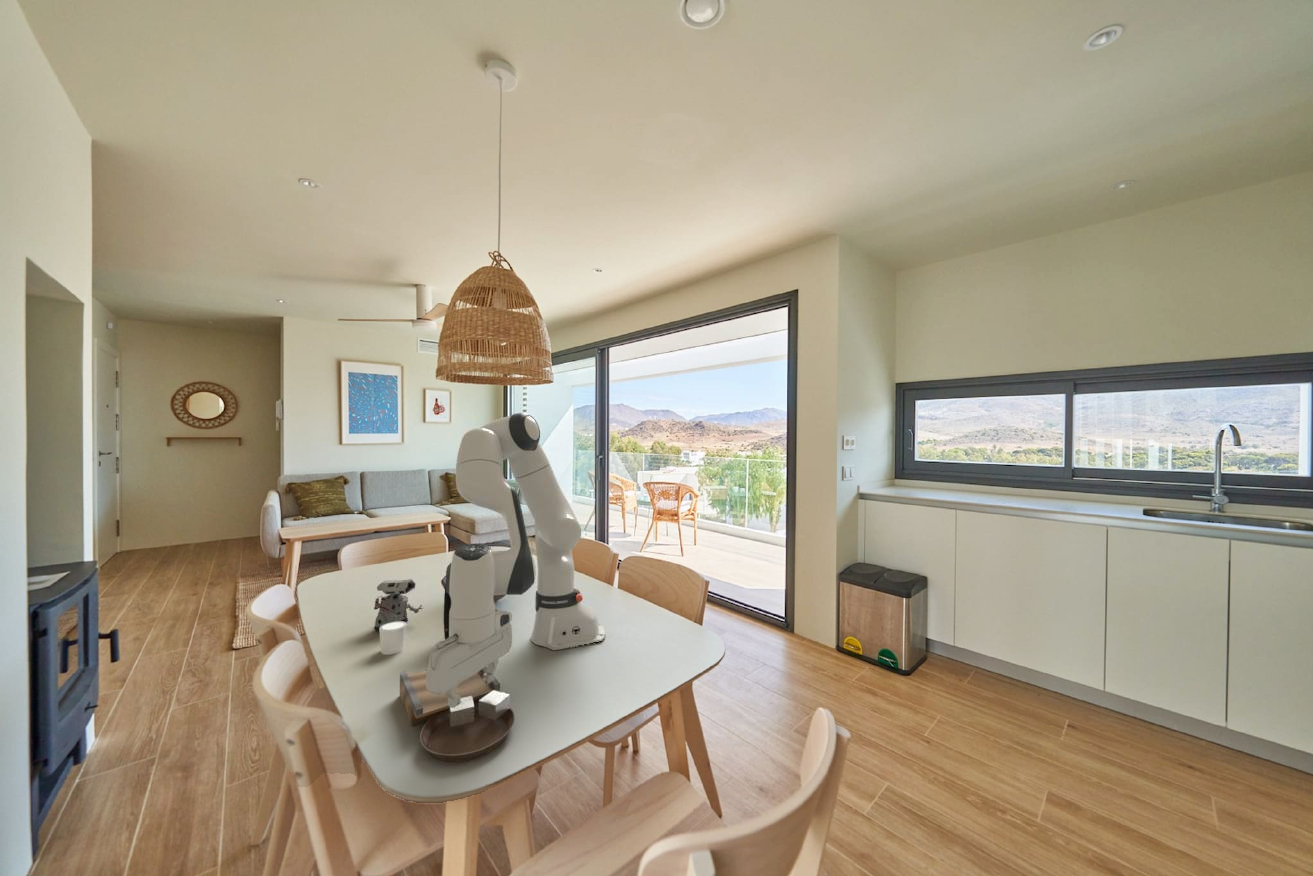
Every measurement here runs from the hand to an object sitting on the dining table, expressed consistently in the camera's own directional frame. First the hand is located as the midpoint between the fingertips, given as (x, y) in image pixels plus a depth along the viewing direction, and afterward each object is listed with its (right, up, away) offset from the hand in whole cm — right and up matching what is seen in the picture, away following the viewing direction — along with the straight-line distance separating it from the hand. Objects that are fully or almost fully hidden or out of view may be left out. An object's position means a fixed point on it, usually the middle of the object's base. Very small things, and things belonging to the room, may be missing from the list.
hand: (472, 693), depth 94 cm
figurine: (-45, -8, +52) cm, 69 cm away
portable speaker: (-21, -8, +43) cm, 49 cm away
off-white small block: (-2, -6, +1) cm, 6 cm away
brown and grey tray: (-10, -8, +11) cm, 17 cm away
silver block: (+4, -6, +3) cm, 7 cm away
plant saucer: (0, -9, -1) cm, 9 cm away
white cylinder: (-37, -8, +36) cm, 52 cm away
